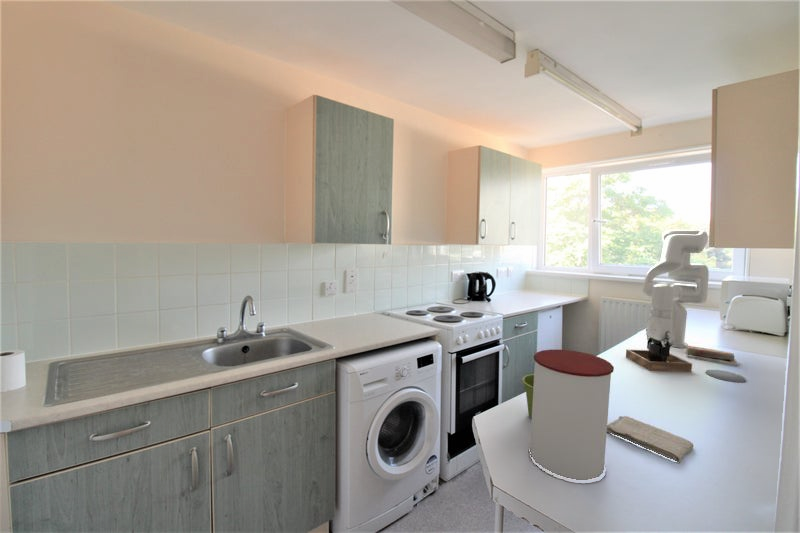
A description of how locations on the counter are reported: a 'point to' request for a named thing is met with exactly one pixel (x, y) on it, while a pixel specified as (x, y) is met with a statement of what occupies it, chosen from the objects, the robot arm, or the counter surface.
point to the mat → (725, 375)
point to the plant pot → (529, 391)
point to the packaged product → (711, 355)
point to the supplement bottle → (655, 352)
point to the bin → (671, 365)
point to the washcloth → (651, 438)
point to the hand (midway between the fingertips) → (657, 352)
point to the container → (570, 413)
